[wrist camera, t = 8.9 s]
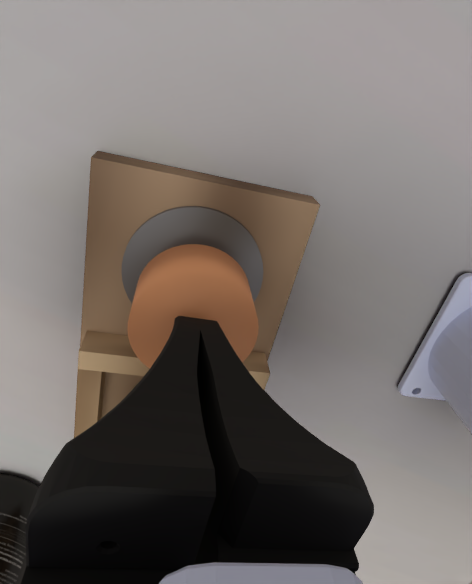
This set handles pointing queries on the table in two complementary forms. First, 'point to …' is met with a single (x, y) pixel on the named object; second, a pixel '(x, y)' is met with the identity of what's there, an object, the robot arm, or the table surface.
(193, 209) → the board
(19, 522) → the supplement bottle
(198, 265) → the button
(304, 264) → the table surface
